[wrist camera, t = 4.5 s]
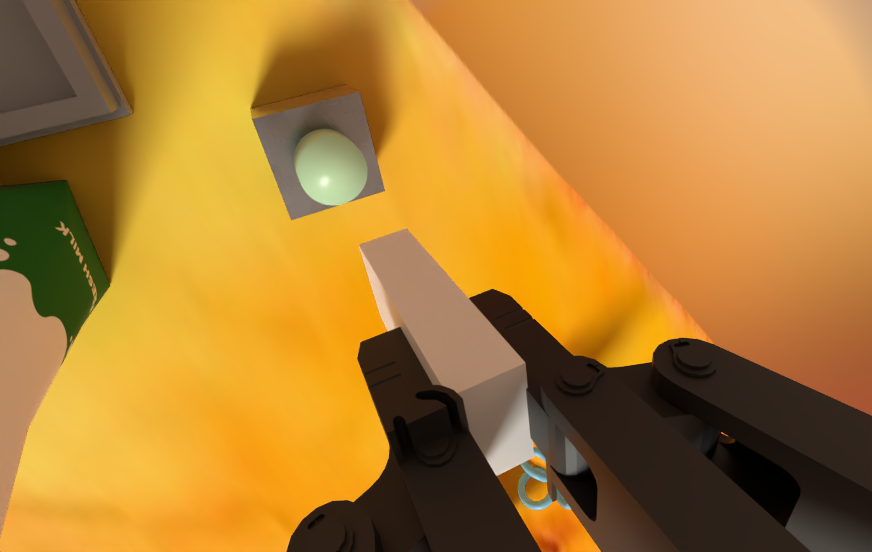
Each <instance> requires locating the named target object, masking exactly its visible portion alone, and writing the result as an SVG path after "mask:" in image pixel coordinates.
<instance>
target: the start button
mask: <svg viewBox="0 0 872 552" xmlns="http://www.w3.org/2000/svg"><path fill="white" fill-rule="evenodd" d="M293 162H294V168H295V171H296V173H297V176H298V178H299V181H300V183H301V186H302V188H303V189H304V191H305V192H306V193H307V194H308V195H309V196H310V197H311V198H312V199H314V200H315V201H317V202H319V203H322V204H325V205H341V204H345V203H347V202H349V201H351V200H353V199H354V198H355V197H356V196H358V195H359V193H360V192H361V191H362V189H363V188H364V186H365V183H366V180H367V174H368V169H367V163H366V160H365V158H364V155H363V154H362V152H361V151H360V150H359V149H358V147H357V146H356V145H355V144H354V143H353V142H352V141H350V140H349V139H348V138H347V137H346V136H345V135H344V134H342V133H340V132H338V131H336V130H332V129H317V130H314V131H312V132H310V133H308V134H306V135H305V136H304V137H303V138H302V139H301V140H300V141H299V143H298V144H297V146H296V149H295V152H294V157H293Z"/></svg>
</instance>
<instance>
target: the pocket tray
mask: <svg viewBox="0 0 872 552" xmlns="http://www.w3.org/2000/svg"><path fill="white" fill-rule="evenodd" d="M133 113H134V112H133V110H132V108H131V106H130V104H129V102H128V101H127V99H126V97H125V95H124V93H123V91H122V89H121V87H120V85H119V83H118V81H117V80H116V78H115V76H114V74H113V72H112V70H111V68H110V66H109V64H108V62H107V60H106V59H105V57H104V55H103V53H102V51H101V49H100V47H99V45H98V43H97V41H96V39H95V38H94V36H93V34H92V32H91V30H90V28H89V26H88V24H87V22H86V20H85V18H84V17H83V15H82V13H81V11H80V9H79V7H78V5H77V3H76V1H75V0H0V146H4V145H8V144H13V143H17V142H21V141H25V140H29V139H33V138H38V137H42V136H46V135H50V134H54V133H58V132H63V131H67V130H71V129H75V128H79V127H84V126H88V125H92V124H96V123H100V122H104V121H109V120H113V119H117V118H121V117H125V116H129V115H131V114H133Z"/></svg>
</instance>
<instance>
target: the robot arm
mask: <svg viewBox="0 0 872 552" xmlns="http://www.w3.org/2000/svg"><path fill="white" fill-rule="evenodd" d="M359 248H360V251H361V254H362V258H363V261H364V264H365V267H366V270H367V274H368V277H369V280H370V283H371V287H372V290H373V293H374V296H375V300H376V303H377V306H378V309H379V313H380V316H381V319H382V321H383V323H384V325H385V326H386V328H387V330H388V332H385V333H383V334H380V335H378V336H375V337H373V338H370V339H368V340H365V341H362V342H361V343H360V348H359V353H358V358H357V359H358V362H359V364H360V367H361V370H362V373H363V375H364V378H365V381H366V383H367V386H368V389H369V392H370V394H371V397H372V400H373V402H374V405H375V408H376V410H377V413H378V416H379V418H380V421H381V423H382V426H383V429H384V431H385V434H386V437H387V439H388V442H389V446H390V450H389V459H388V462H387V465H386V467H385V469H384V471H383V472H382V474H381V476H380V477H379V479H378V480H377V481H376V482H375V483H374V484H373V485H372V486H371V487H370V488H369V489H368V490H367V491H366V492H365V493H363V494H362V495H361V496H360V497H359V498H358V499H357V500H356V501H354V502H351V501H348V500H344V501H332V502H329V503H327V504H325V505H322V506H320V507H318V508H316V509H315V510H314V511H312V512H311V513H310V514H309V515H308V516H306V517H305V518H304V519H303V520H302V521H301V523H300V524H299V526H298V527H297V529H296V530H295V532H294V533H293V535H292V536H291V539H290V542H289V545H288V549H287V552H542V551H541V550H540V548H539V546H538V545H537V543H536V541H535V540H534V538H533V536H532V535H531V533H530V531H529V530H528V528H527V526H526V525H525V523H524V521H523V520H522V518H521V516H520V515H519V513H518V511H517V510H516V508H515V506H514V505H513V503H512V501H511V500H510V498H509V496H508V495H507V493H506V491H505V490H504V488H503V486H502V485H501V483H500V481H499V479H498V478H497V476H498V475H500V474H502V473H504V472H506V471H508V470H510V469H512V468H514V467H516V466H518V465H520V464H522V463H524V462H526V461H528V460H530V459H532V458H534V449H533V442H534V443H535V444H536V446H537V447H538V448H539V450H540V451H541V453H542V454H543V455H544V457H545V458H546V472H547V487H548V493H549V495H550V498H551V500H552V502H553V501H555V500H557V489H558V491H559V492H560V494H561V495H562V496H563V498H564V499H565V501H566V502H567V504H568V505H569V506H570V508H571V509H572V511H573V512H574V513H575V515H576V516H577V518H578V519H579V521H580V522H581V523H582V525H583V526H584V528H585V529H586V530H587V532H588V533H589V535H590V536H591V538H592V539H593V540H594V542H595V543H596V545H597V546H598V547H599V549H600V550H601V552H872V416H871V415H869V414H866V413H864V412H862V411H860V410H858V409H855V408H853V407H851V406H848V405H846V404H844V403H842V402H840V401H838V400H835V399H833V398H831V397H829V396H827V395H824V394H822V393H820V392H818V391H816V390H813V389H811V388H809V387H807V386H804V385H802V384H800V383H798V382H796V381H793V380H791V379H789V378H787V377H785V376H782V375H780V374H778V373H776V372H773V371H771V370H769V369H767V368H765V367H762V366H760V365H758V364H756V363H754V362H751V361H749V360H747V359H745V358H742V357H740V356H738V355H736V354H734V353H731V352H729V351H727V350H725V349H723V348H720V347H718V346H716V345H714V344H711V343H708V342H705V341H702V340H699V339H690V338H678V339H671V340H668V341H666V342H664V343H662V344H660V345H658V347H657V348H656V350H655V351H654V353H653V359H652V362H650V363H644V364H637V365H630V366H624V367H613V368H607V367H606V366H604V365H603V364H601V363H599V362H598V361H596V360H594V359H591V358H587V357H584V356H573V355H572V354H571V353H570V352H569V351H568V350H566V349H565V348H564V347H563V346H562V345H561V344H560V343H559V342H558V341H557V340H556V339H555V338H554V337H553V336H552V335H551V334H550V333H549V332H548V331H547V330H545V329H544V328H543V327H542V326H541V325H540V324H539V323H538V322H537V321H536V320H535V319H533V318H532V316H531V315H530V314H529V313H528V312H527V311H526V310H523V309H522V307H521V306H520V305H519V304H518V303H517V302H516V301H515V300H514V299H513V298H512V297H511V296H509V295H507V294H504V293H502V292H499V291H497V290H494V289H491V290H488V291H486V292H483V293H481V294H478V295H476V296H473V297H470V298H468V297H467V296H466V295H465V294H464V293H463V292H462V290H461V289H460V288H459V287H458V286H457V285H456V284H455V282H454V281H453V280H452V279H451V278H450V277H449V276H448V275H447V273H446V272H445V271H444V270H443V269H442V268H441V267H440V266H439V264H438V263H437V262H436V261H435V260H434V259H433V258H432V256H431V255H430V254H429V253H428V252H427V251H426V250H425V249H424V247H423V246H422V245H421V244H420V243H419V242H418V241H417V240H416V238H415V237H414V236H413V235H412V234H411V233H410V232H409V230H408V229H404V230H401V231H398V232H395V233H392V234H389V235H386V236H383V237H380V238H377V239H375V240H372V241H369V242H366V243H363V244H360V245H359ZM721 432H723V433H724V434H726V435H728V436H726V435H723V434H721Z"/></svg>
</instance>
